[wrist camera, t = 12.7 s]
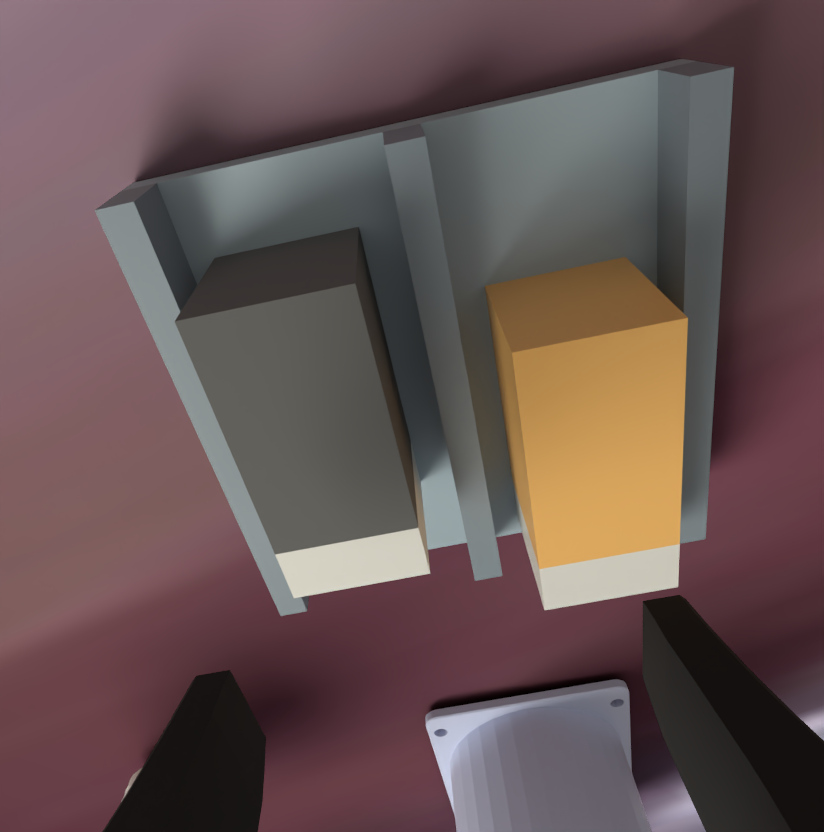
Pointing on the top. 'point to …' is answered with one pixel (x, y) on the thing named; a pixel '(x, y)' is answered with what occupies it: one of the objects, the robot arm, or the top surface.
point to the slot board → (462, 261)
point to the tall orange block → (593, 427)
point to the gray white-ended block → (311, 409)
